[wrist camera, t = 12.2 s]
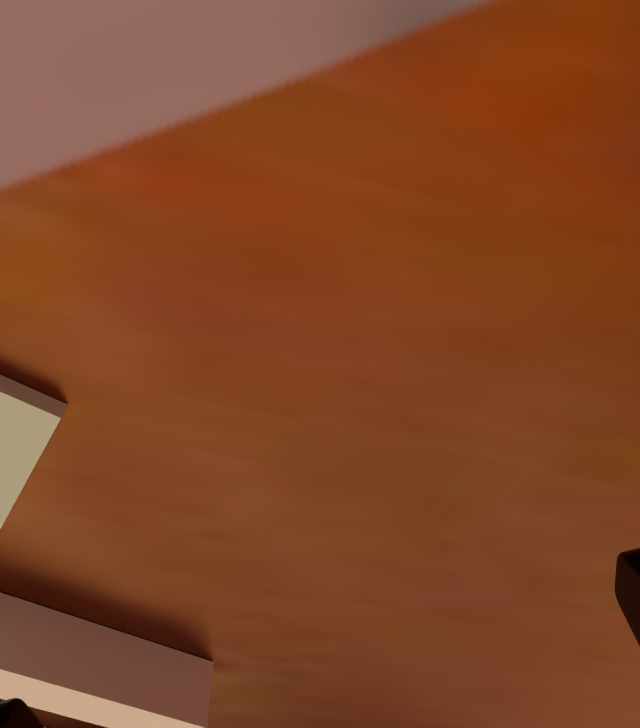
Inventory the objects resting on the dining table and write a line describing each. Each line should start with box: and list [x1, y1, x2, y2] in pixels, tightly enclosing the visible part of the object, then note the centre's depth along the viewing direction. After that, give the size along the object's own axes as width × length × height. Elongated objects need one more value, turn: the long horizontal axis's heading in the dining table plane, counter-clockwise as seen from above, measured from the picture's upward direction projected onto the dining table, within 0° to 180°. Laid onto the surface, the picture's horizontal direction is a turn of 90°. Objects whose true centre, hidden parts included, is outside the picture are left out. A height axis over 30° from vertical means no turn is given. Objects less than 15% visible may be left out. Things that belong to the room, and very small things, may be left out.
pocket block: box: [0, 592, 213, 728], centre depth 27 cm, size 10×10×3 cm
